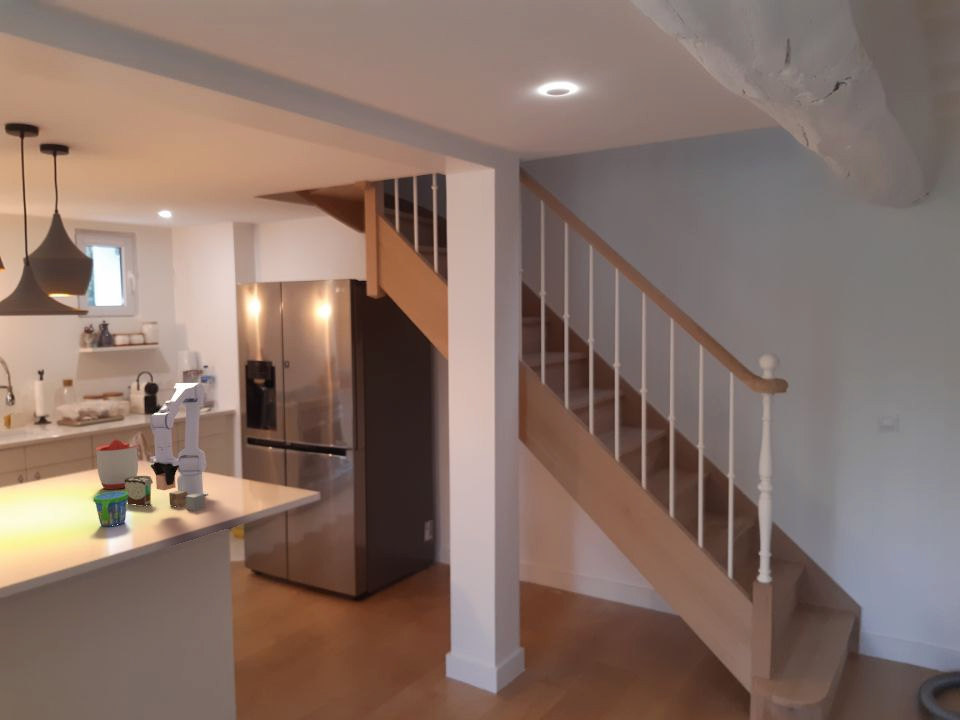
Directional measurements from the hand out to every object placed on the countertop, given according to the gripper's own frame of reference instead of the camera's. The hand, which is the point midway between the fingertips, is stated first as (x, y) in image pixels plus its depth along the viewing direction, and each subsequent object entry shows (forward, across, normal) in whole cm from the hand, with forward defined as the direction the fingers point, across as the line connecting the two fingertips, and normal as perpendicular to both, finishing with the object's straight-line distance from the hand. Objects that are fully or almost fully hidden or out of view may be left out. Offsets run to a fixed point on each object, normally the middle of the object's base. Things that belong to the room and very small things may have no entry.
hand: (165, 483), depth 262 cm
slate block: (+10, +5, +8) cm, 14 cm away
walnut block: (+10, -5, +8) cm, 14 cm away
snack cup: (+11, -4, -18) cm, 21 cm away
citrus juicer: (+11, -55, +15) cm, 58 cm away
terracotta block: (+2, 0, 0) cm, 2 cm away
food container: (+11, -20, +3) cm, 23 cm away
